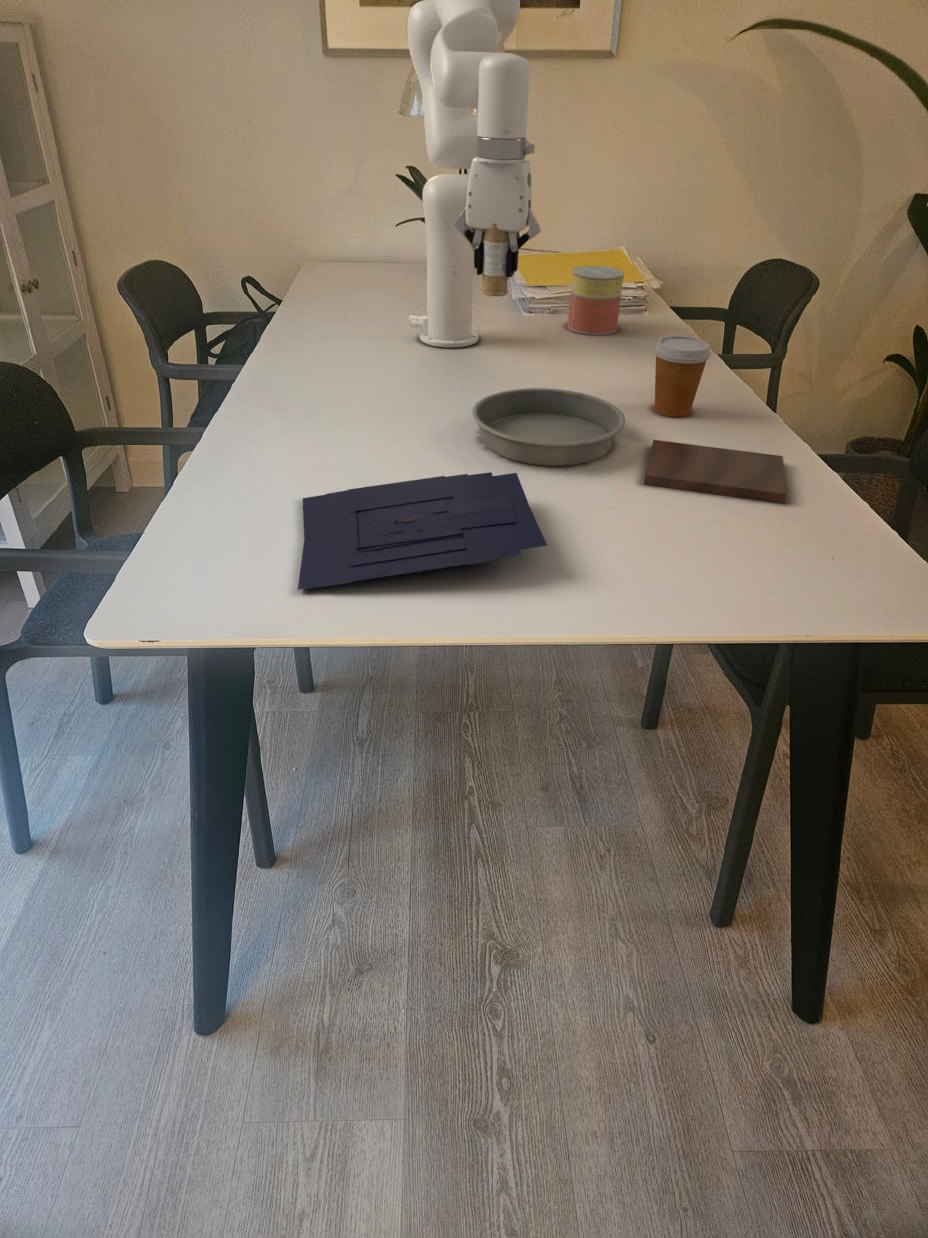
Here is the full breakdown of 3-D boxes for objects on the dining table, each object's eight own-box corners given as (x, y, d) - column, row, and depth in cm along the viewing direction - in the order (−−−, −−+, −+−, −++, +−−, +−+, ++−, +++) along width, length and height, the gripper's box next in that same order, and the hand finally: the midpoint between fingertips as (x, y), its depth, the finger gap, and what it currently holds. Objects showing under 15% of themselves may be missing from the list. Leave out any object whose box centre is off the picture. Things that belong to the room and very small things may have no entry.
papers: (551, 572, 103) (550, 546, 101) (302, 610, 101) (296, 584, 99) (515, 484, 123) (513, 461, 120) (306, 514, 121) (301, 491, 119)
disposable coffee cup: (704, 407, 154) (717, 339, 147) (692, 424, 147) (705, 354, 140) (652, 397, 157) (662, 331, 150) (638, 414, 150) (649, 345, 143)
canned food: (625, 326, 195) (632, 270, 189) (604, 337, 187) (611, 280, 181) (580, 317, 200) (586, 263, 193) (558, 328, 192) (563, 272, 185)
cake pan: (633, 424, 146) (637, 398, 144) (605, 482, 127) (609, 453, 125) (496, 403, 153) (497, 378, 150) (449, 455, 133) (450, 428, 131)
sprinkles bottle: (495, 289, 147) (500, 203, 140) (513, 295, 145) (518, 207, 137) (475, 292, 145) (478, 205, 137) (493, 298, 142) (497, 209, 135)
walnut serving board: (643, 484, 127) (645, 474, 126) (651, 448, 138) (653, 439, 137) (783, 503, 123) (786, 494, 122) (780, 464, 134) (782, 455, 133)
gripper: (558, 151, 134) (549, 273, 144) (455, 145, 137) (453, 265, 148) (549, 156, 128) (540, 283, 138) (441, 149, 131) (440, 274, 142)
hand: (495, 273), depth 143 cm, fingers closed on sprinkles bottle, 4 cm apart
